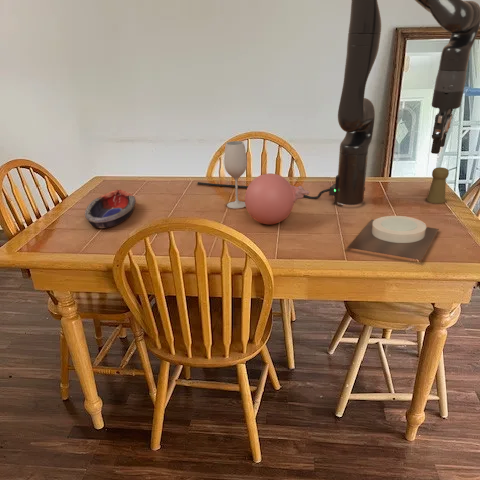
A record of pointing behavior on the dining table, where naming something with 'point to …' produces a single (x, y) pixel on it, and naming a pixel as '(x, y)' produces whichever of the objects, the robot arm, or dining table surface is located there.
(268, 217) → the balloon
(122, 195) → the dish
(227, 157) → the wineglass
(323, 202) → the dining table surface
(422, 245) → the board
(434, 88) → the robot arm
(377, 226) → the plate
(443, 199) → the olive pepper mill
